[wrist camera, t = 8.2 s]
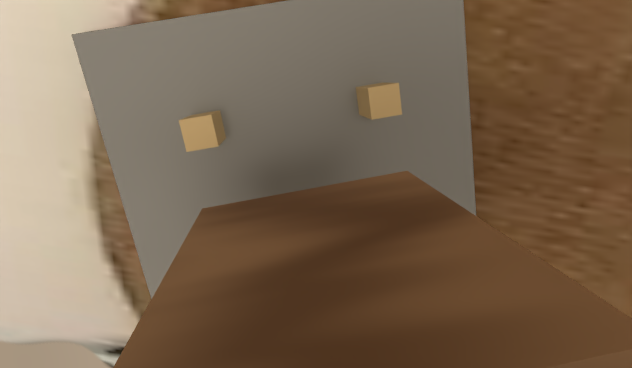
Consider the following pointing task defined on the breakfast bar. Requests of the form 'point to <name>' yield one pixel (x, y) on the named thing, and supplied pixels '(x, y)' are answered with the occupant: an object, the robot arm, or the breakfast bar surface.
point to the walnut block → (368, 290)
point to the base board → (277, 107)
